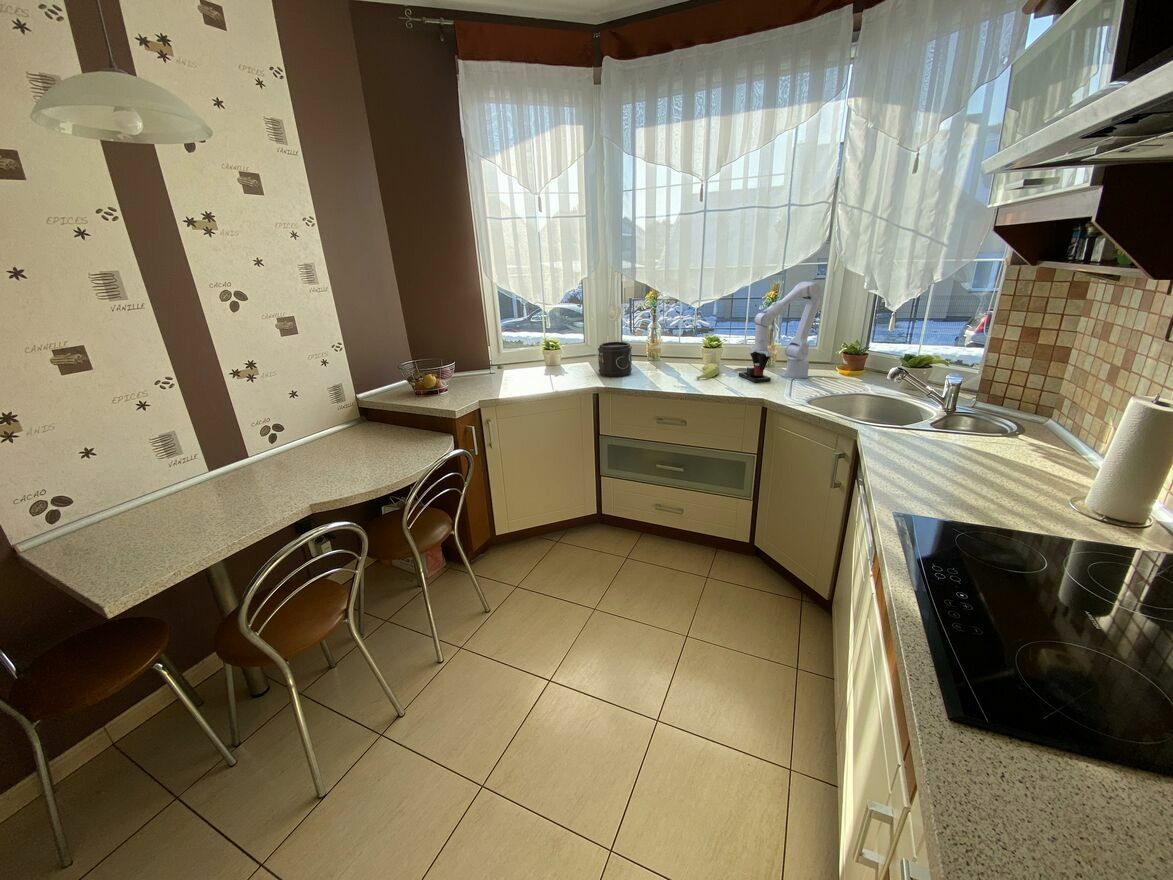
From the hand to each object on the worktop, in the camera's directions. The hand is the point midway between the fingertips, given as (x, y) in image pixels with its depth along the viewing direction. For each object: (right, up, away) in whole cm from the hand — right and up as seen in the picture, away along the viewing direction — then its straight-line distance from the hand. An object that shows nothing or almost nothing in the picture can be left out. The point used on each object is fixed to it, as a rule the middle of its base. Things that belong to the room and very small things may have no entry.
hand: (759, 368), depth 224 cm
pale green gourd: (-21, -1, +18) cm, 27 cm away
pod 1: (-1, -3, +8) cm, 9 cm away
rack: (0, -5, +5) cm, 7 cm away
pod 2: (0, -3, +1) cm, 3 cm away
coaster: (0, +2, +23) cm, 23 cm away
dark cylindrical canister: (-66, +2, +30) cm, 72 cm away
